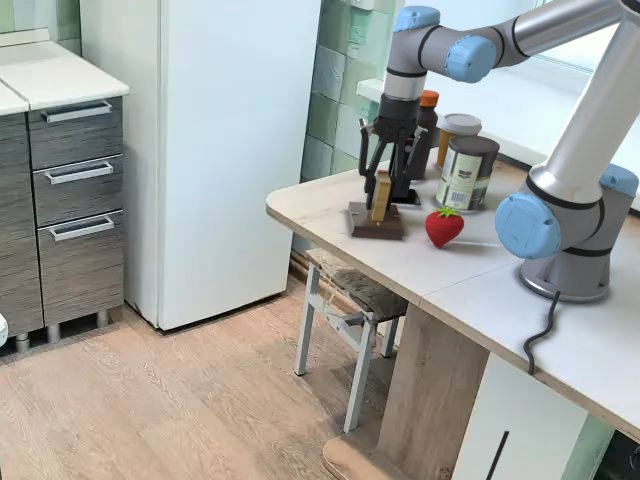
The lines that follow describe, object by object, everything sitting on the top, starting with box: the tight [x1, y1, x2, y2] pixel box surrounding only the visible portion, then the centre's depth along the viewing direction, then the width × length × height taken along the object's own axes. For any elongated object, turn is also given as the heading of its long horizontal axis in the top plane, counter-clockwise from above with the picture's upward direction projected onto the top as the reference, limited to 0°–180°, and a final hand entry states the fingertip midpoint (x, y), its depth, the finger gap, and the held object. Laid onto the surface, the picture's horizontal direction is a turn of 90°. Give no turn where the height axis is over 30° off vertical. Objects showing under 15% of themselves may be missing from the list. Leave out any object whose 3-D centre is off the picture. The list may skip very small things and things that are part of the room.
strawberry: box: [424, 204, 465, 249], centre depth 159 cm, size 6×8×10 cm
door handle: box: [357, 118, 410, 138], centre depth 172 cm, size 13×6×2 cm, turn 83°
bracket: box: [387, 132, 421, 206], centre depth 176 cm, size 10×8×15 cm
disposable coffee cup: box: [436, 112, 483, 169], centre depth 192 cm, size 10×10×12 cm
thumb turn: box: [370, 169, 391, 221], centre depth 166 cm, size 6×2×9 cm, turn 173°
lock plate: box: [347, 201, 405, 241], centre depth 169 cm, size 12×10×3 cm
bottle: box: [411, 89, 440, 182], centre depth 184 cm, size 7×7×20 cm
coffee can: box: [435, 135, 501, 211], centre depth 175 cm, size 10×10×14 cm
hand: (377, 207), depth 167 cm, fingers open, 3 cm apart
